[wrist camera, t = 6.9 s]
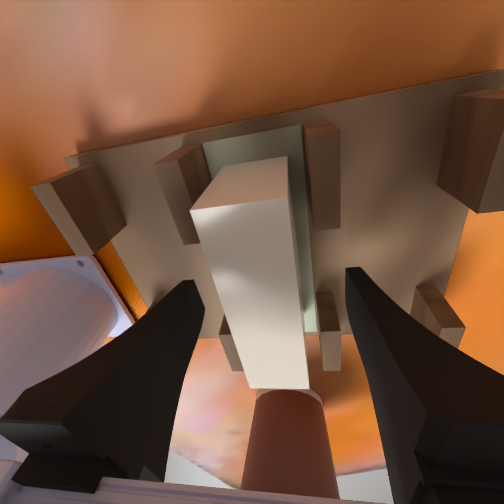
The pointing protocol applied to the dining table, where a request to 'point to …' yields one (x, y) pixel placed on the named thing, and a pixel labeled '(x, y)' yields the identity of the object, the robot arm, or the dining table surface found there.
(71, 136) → the dining table surface
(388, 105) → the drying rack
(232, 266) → the cream rectangular block
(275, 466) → the coffee cup
